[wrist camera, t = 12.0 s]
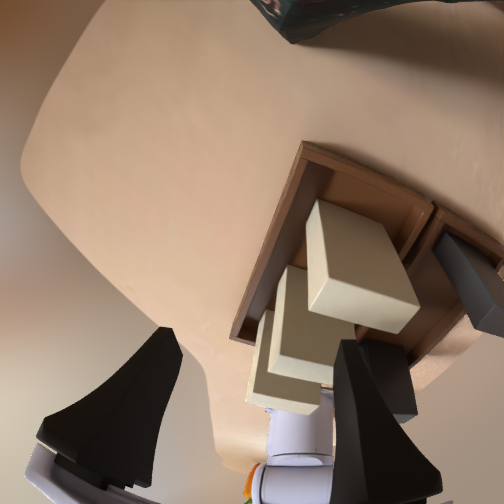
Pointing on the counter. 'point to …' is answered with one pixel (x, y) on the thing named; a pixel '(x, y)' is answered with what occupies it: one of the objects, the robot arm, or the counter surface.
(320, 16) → the green mottled arch
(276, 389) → the cream book
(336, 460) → the robot arm
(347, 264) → the cream book
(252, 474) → the carrot
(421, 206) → the shallow brown tray
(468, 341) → the counter surface
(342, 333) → the cream book
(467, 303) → the charcoal book
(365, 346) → the charcoal book
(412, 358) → the dark wooden tray
